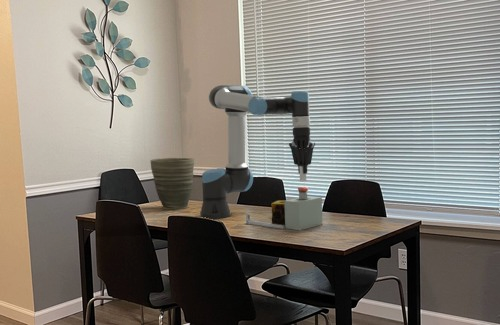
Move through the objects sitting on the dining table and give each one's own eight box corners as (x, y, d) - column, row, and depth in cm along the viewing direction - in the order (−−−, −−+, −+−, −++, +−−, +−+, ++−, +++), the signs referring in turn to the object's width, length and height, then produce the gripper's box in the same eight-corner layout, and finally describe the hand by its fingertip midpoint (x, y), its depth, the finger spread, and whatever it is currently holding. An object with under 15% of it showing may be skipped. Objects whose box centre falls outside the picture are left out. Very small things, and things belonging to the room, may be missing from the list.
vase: (199, 210, 305) (190, 156, 299) (156, 217, 305) (146, 163, 299) (203, 198, 329) (194, 148, 323) (162, 204, 329) (153, 154, 323)
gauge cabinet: (283, 228, 246) (282, 200, 245) (306, 222, 257) (305, 196, 256) (299, 230, 239) (298, 202, 238) (322, 224, 251) (321, 197, 250)
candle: (292, 226, 249) (292, 204, 248) (271, 225, 253) (270, 203, 252) (299, 222, 258) (298, 200, 258) (278, 221, 262) (277, 200, 261)
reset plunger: (296, 206, 247) (295, 188, 247) (302, 204, 250) (302, 186, 250) (304, 207, 244) (303, 188, 244) (310, 205, 247) (310, 187, 247)
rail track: (246, 223, 259) (245, 215, 259) (274, 217, 273) (273, 208, 273) (282, 228, 244) (282, 219, 243) (310, 221, 258) (310, 213, 257)
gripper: (284, 127, 246) (286, 181, 248) (307, 126, 237) (309, 182, 239) (295, 126, 252) (296, 179, 253) (318, 126, 243) (320, 180, 244)
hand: (303, 181), depth 246 cm, fingers closed
